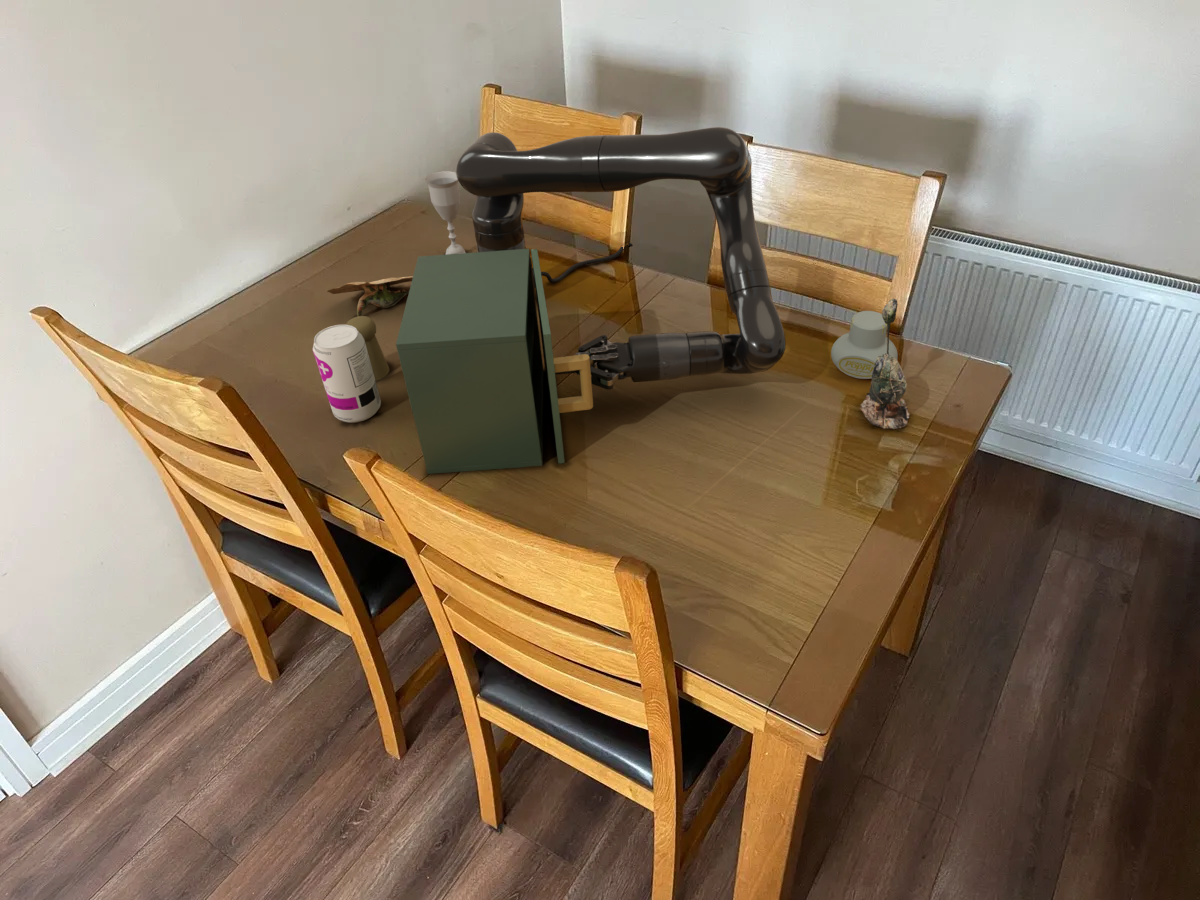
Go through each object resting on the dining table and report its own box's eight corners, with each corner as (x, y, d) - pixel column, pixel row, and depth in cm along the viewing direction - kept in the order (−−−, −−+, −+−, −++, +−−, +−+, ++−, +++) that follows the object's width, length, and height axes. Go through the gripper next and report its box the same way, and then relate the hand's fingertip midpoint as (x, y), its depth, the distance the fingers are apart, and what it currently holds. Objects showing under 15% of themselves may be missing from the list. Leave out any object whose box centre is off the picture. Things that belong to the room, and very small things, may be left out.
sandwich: (387, 311, 188) (384, 274, 186) (431, 313, 179) (429, 275, 177) (314, 318, 174) (310, 279, 172) (357, 321, 165) (354, 280, 164)
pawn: (381, 383, 156) (367, 330, 149) (350, 380, 157) (335, 328, 150) (394, 364, 160) (381, 312, 153) (364, 361, 161) (349, 310, 154)
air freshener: (824, 375, 150) (830, 325, 144) (835, 350, 156) (842, 301, 149) (889, 388, 146) (898, 338, 140) (898, 362, 152) (908, 312, 145)
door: (580, 366, 156) (569, 245, 141) (598, 458, 136) (588, 329, 121) (545, 370, 156) (530, 249, 140) (558, 463, 136) (543, 334, 121)
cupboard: (543, 371, 156) (529, 248, 140) (542, 466, 136) (525, 335, 120) (443, 378, 156) (418, 256, 141) (427, 474, 136) (395, 344, 121)
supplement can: (340, 430, 146) (317, 355, 136) (328, 405, 151) (305, 331, 142) (387, 414, 148) (367, 340, 139) (373, 390, 154) (353, 317, 144)
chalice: (478, 252, 193) (465, 173, 181) (462, 266, 188) (448, 186, 176) (450, 247, 195) (436, 169, 184) (433, 261, 191) (418, 182, 179)
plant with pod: (847, 429, 139) (864, 321, 126) (868, 391, 146) (886, 285, 133) (898, 443, 135) (922, 333, 122) (917, 403, 143) (941, 296, 130)
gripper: (664, 399, 138) (555, 409, 138) (654, 354, 148) (553, 362, 148) (663, 360, 133) (550, 370, 133) (654, 315, 143) (549, 324, 143)
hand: (552, 366), depth 140 cm, fingers closed
